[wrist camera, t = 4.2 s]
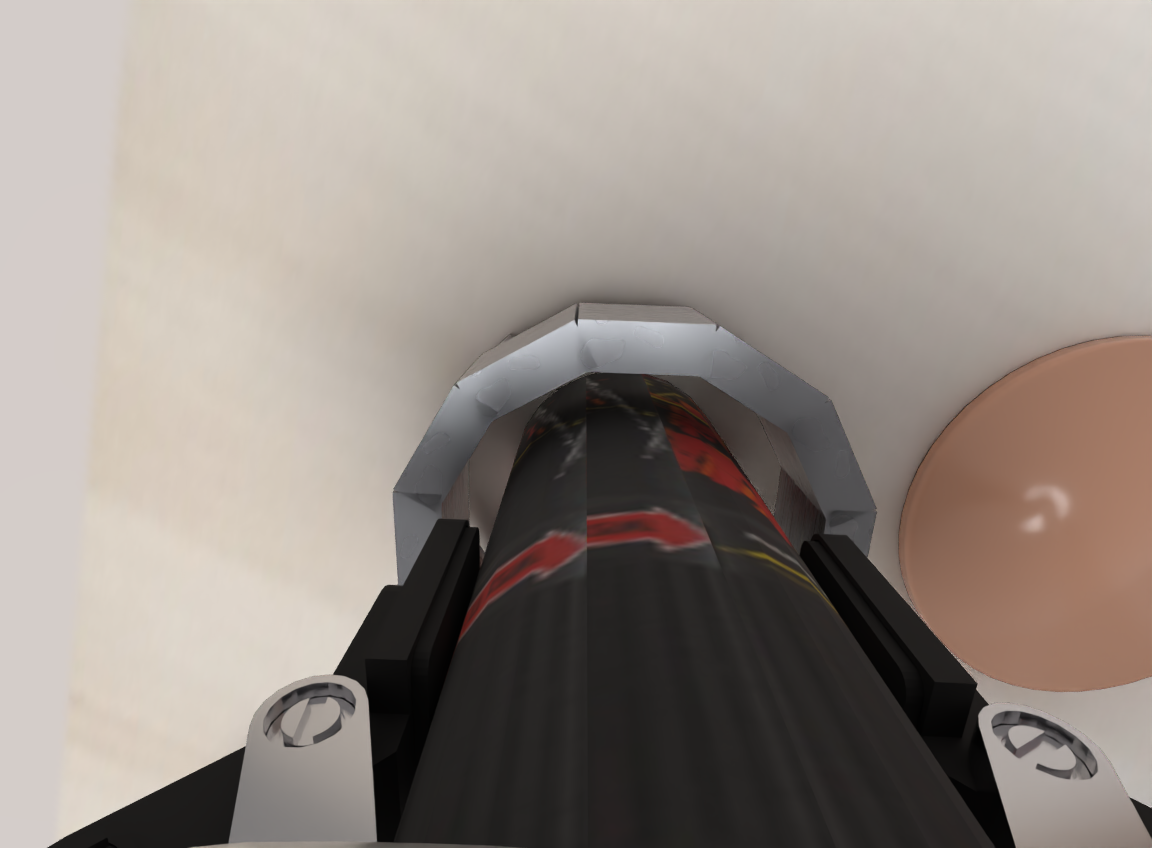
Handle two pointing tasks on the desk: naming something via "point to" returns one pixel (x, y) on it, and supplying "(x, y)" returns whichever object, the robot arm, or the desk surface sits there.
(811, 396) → the ring stand
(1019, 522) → the coaster
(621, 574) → the deodorant
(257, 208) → the desk surface
